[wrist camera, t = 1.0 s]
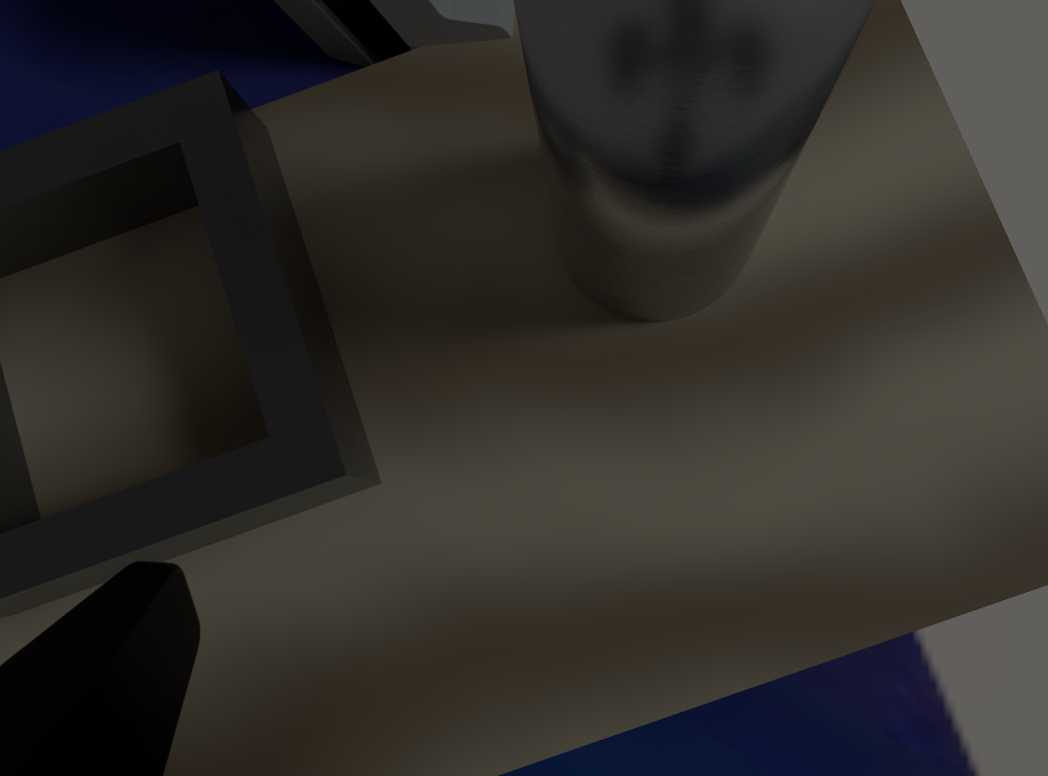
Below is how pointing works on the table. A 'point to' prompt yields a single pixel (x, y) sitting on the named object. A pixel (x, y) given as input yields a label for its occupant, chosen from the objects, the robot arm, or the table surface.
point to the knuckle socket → (258, 311)
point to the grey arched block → (397, 24)
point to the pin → (674, 133)
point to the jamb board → (559, 429)
